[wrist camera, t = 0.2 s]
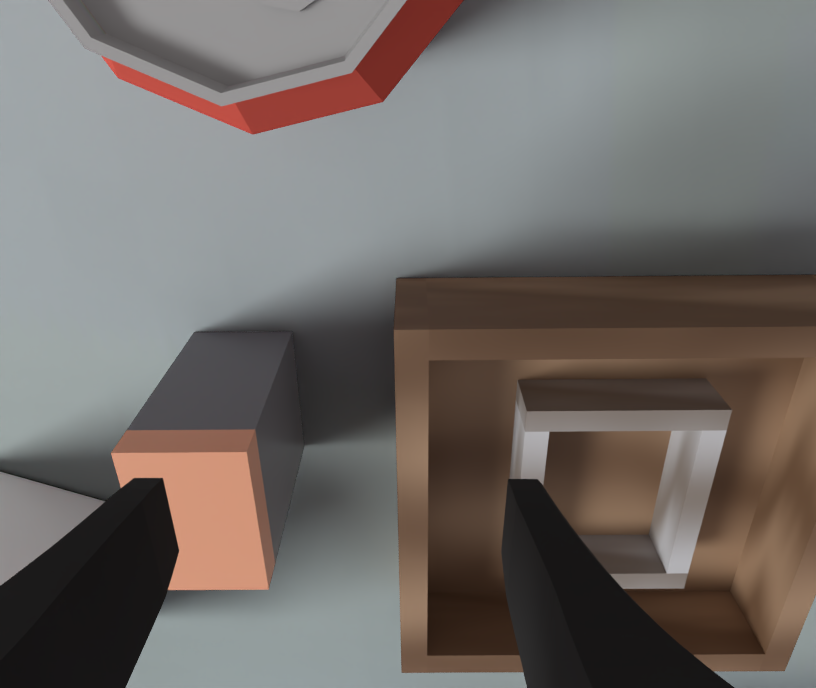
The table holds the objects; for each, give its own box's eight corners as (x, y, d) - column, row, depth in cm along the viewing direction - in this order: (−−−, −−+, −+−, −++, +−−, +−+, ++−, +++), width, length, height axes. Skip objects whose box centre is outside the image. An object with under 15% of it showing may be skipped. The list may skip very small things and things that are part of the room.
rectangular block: (304, 445, 25) (268, 589, 18) (215, 446, 25) (150, 590, 18) (292, 331, 22) (246, 452, 16) (194, 332, 22) (110, 453, 16)
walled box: (737, 588, 28) (784, 671, 25) (402, 590, 28) (401, 672, 25) (839, 274, 21) (925, 325, 18) (396, 278, 21) (393, 329, 18)
